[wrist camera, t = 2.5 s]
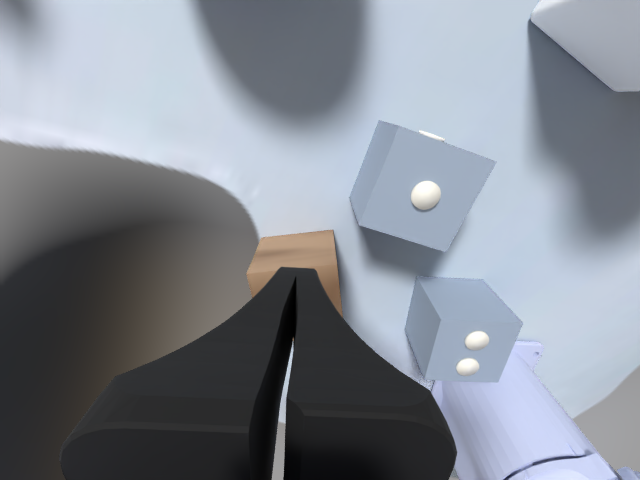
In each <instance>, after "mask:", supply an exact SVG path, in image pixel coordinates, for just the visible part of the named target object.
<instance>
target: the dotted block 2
mask: <svg viewBox="0 0 640 480" xmlns="http://www.w3.org/2000/svg"><path fill="white" fill-rule="evenodd" d="M522 325H523V322H522V321H521V320H520V319H519V318H518V317H517V316H516V315H515V314H514V313H513V311H512V310H511V309H510V308H509V307H508V306H507V305H506V304H505V303H504V302H503V301H502V300H501V299H500V298H499V296H498V295H497V294H496V293H495V292H494V291H493V290H492V289H491V288H490V287H489V286H488V285H487V284H486V283H485V281H484V280H483V279H464V278H443V277H421V276H416V280H415V285H414V289H413V294H412V298H411V303H410V308H409V312H408V317H407V321H406V326H405V331H406V334H407V336H408V339H409V342H410V344H411V347H412V349H413V352H414V355H415V357H416V360H417V362H418V365H419V368H420V370H421V373H422V375H423V378H424V380H438V381H467V382H496V383H498V382H499V380H500V377H501V375H502V372H503V370H504V368H505V365H506V363H507V361H508V358H509V356H510V353H511V351H512V349H513V346H514V344H515V341H516V339H517V337H518V334H519V332H520V330H521V327H522Z"/></svg>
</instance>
